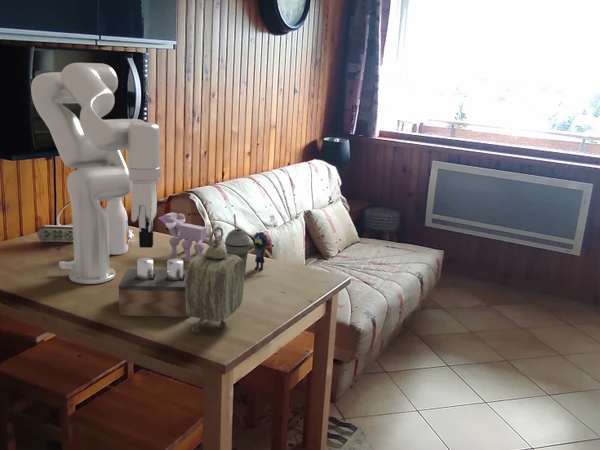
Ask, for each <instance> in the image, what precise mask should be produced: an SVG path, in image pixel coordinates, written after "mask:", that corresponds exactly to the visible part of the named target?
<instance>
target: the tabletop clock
mask: <svg viewBox="0 0 600 450" xmlns="http://www.w3.org/2000/svg"><path fill="white" fill-rule="evenodd" d="M217 231H220V233H221V234H220V237H219V239H217V238H215V240H214V244H212V242H211V240H212V237H213V236H214V235H215V233H216V232H217ZM209 237H210V240H209V242H210V245H211V247H209V246H208V248H207V249H206V250H205V251H204V252H202V254H200V255H196V257H195V258H193V259H192V260H191V261H190V262H189V264H188V265H187V269H186V270H187V275H186V289H185V300H186V313H187V316H190V317H192V318H196V319H199V320H198V322H197V325H196V326H193V327H192V329H191V331H192V333H193V334H198V333H199V330H200V328H199V327H200V326H201V325H202V323H203V322H204V321H205V320H207V321H211V322H212V321H213V322H220V323H219V327H220V328H221V329H225V328H227V323H226V322H225V321H224V320H226V319H228V318H229V317H231V316H232V315H233V314H234V313H235V312H236V311H237V310H238V309H239V308H240V306H241V305H242V302H243V297H244V283H245V276H244V261H243V260H242V259H241V258H240V257H239V256H237V255H232V254H227V252H226V248H224V247H222V245H219V244H220V243H222V242H221V241H222V239H223V237H224V230H223V228H222V227H221V226H217V227H215V228H214V229H213V230H212V231H211V233H210V235H209Z"/></svg>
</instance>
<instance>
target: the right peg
mask: <svg viewBox="0 0 600 450" xmlns="http://www.w3.org/2000/svg"><path fill="white" fill-rule="evenodd" d="M166 266H167V267H166V269H167V281H183V270H184V260H183V259H180V258H176V259H173V258H171V259H167V261H166Z"/></svg>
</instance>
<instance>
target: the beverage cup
mask: <svg viewBox="0 0 600 450" xmlns="http://www.w3.org/2000/svg"><path fill="white" fill-rule="evenodd" d="M236 220H237V219H236V214H235V213H234V214H233V224H234V229H232V230H231V231H229V232H228V233H227V234H226V237H225V241H224V246H225V251H226V253H227V254H232V255H237V256H239V257H240V258H241V259H242V260H243V261H244V277H245V276H246V268H247V261H248V260H247V258H248V255H249V254H248V251H249V250H250V249H249V248H250V244H251V241H250V237H249V234H248V233H247V232H246V231H244V230H243V229H239V228H237V221H236Z"/></svg>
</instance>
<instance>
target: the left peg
mask: <svg viewBox="0 0 600 450" xmlns="http://www.w3.org/2000/svg"><path fill="white" fill-rule="evenodd" d="M136 269H137V280H148V281H153V269H154V259H153V258H150V257H140V258H138V259H137V260H136Z"/></svg>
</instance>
